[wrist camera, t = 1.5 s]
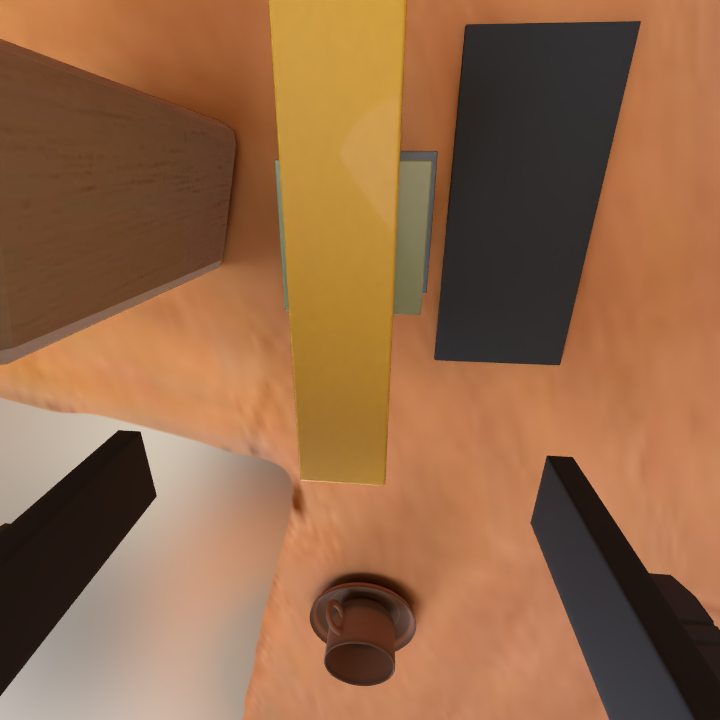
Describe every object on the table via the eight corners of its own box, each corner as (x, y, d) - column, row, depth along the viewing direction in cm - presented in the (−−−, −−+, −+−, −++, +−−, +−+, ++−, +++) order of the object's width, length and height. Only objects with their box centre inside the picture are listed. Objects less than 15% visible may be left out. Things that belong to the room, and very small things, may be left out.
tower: (317, 158, 28) (251, 135, 15) (427, 159, 27) (457, 135, 14) (321, 268, 31) (268, 327, 18) (419, 270, 30) (438, 333, 17)
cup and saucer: (293, 609, 47) (280, 665, 42) (351, 554, 43) (344, 610, 37) (374, 652, 49) (371, 711, 44) (436, 604, 45) (442, 664, 39)
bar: (297, -53, 13) (257, -151, 9) (408, -56, 12) (414, -159, 9) (317, 427, 20) (299, 481, 16) (387, 430, 20) (385, 486, 16)
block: (100, 87, 27) (-524, -125, 9) (243, 128, 27) (-67, 10, 9) (102, 235, 31) (-319, 304, 13) (226, 269, 31) (-10, 386, 13)
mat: (465, 26, 24) (466, 24, 24) (637, 23, 23) (641, 21, 23) (434, 358, 33) (434, 360, 32) (558, 363, 32) (560, 365, 32)
